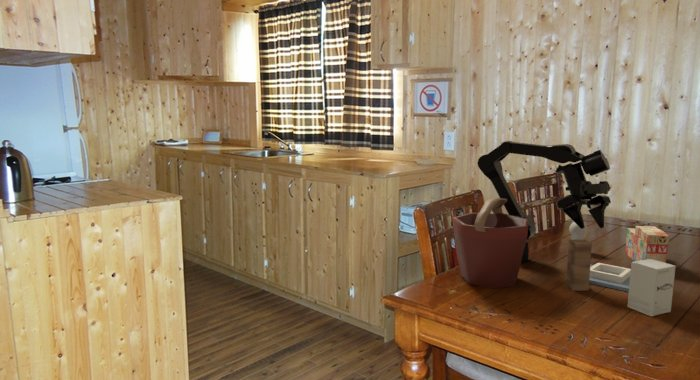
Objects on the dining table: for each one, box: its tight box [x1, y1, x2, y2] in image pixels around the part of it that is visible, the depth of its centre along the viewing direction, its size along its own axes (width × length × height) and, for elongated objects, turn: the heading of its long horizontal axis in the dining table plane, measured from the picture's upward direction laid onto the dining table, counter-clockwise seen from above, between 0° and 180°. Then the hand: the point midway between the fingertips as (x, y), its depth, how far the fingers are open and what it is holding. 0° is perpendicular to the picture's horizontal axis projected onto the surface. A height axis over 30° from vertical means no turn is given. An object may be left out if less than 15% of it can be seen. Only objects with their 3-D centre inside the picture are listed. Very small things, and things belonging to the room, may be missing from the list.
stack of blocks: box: [625, 225, 670, 263], centre depth 175 cm, size 21×6×12 cm, turn 168°
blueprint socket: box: [589, 262, 631, 293], centre depth 159 cm, size 16×16×3 cm
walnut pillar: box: [565, 238, 593, 292], centre depth 151 cm, size 4×4×14 cm
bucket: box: [452, 197, 528, 289], centre depth 158 cm, size 24×22×25 cm
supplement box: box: [627, 259, 676, 317], centre depth 134 cm, size 7×7×13 cm
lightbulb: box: [568, 221, 589, 240], centre depth 189 cm, size 6×6×11 cm
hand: (592, 228), depth 159 cm, fingers open, 9 cm apart
